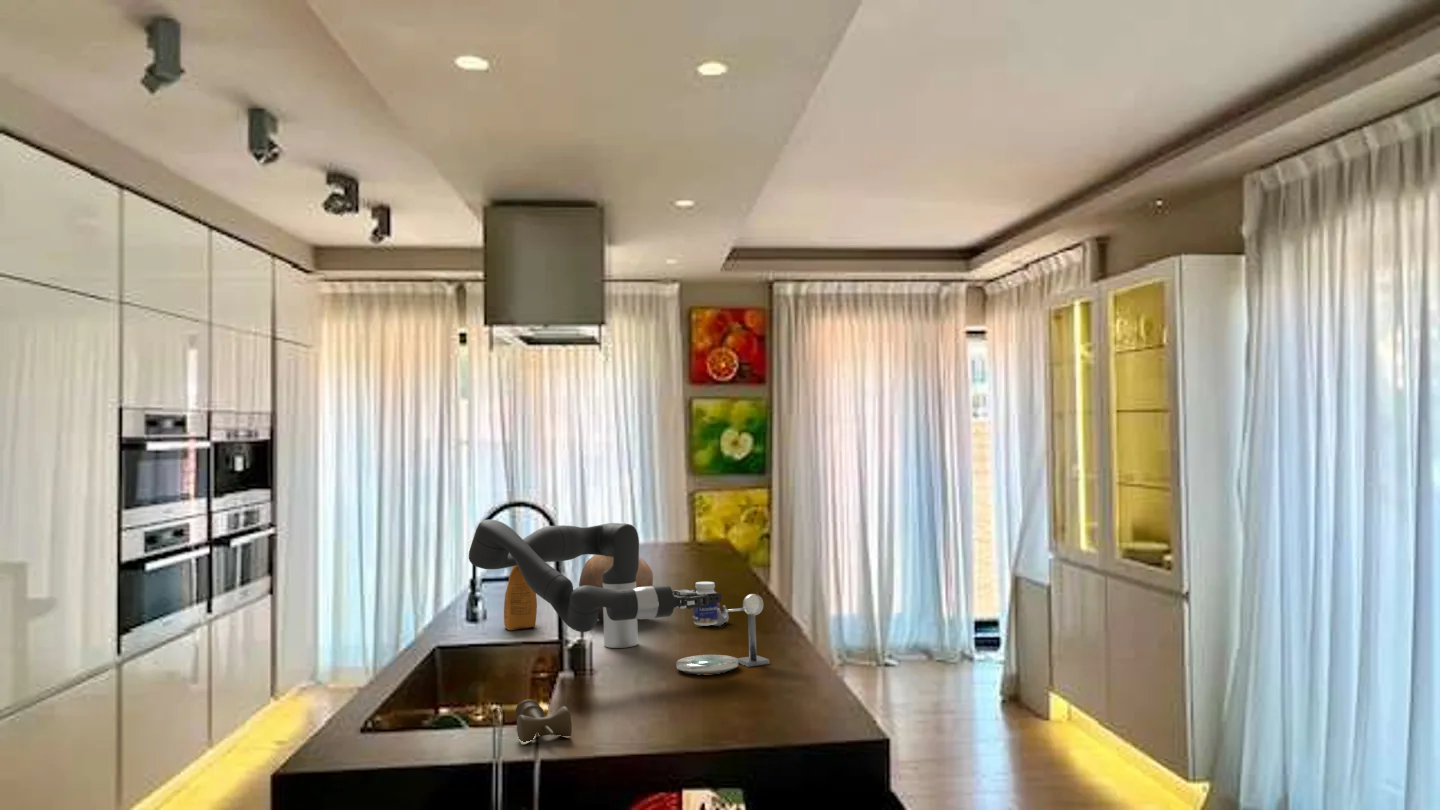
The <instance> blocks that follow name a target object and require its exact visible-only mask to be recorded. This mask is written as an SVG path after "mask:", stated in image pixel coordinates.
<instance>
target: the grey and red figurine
mask: <svg viewBox="0 0 1440 810" xmlns="http://www.w3.org/2000/svg"><path fill="white" fill-rule="evenodd" d="M720 608H721V609H720ZM725 610H728V609H727V607H726V605H725V604H724V605H722V606H721V602H718V603H717V624H715V625H721V624H724V623H725V622H727V623H728V621H729V620H730V617H729V612H725ZM692 619H694V615H692Z"/></svg>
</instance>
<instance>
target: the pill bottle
mask: <svg viewBox="0 0 1440 810" xmlns="http://www.w3.org/2000/svg"><path fill="white" fill-rule="evenodd" d="M694 587H695V589H696V590H695V591H696V592H697V594H704V593H706V594H711V593H717V591H715V588H716V584H715V582H714V581H697V582H695V586H694ZM701 602H702V598H701ZM693 616H694V618H693V623H694V625H696V626H700V627H702V626H709V625H715V624H717V603H709V604H708V606H703V607H696V608H693Z"/></svg>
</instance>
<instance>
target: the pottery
mask: <svg viewBox="0 0 1440 810" xmlns="http://www.w3.org/2000/svg"><path fill="white" fill-rule="evenodd" d="M613 559H614V557H611V556H604V555H592V557H590V558H588V559H587V561H586V562H585V563H584V565H583V568H582V569H581V573H580V576H579V581H578V587H580V586H584V585H590V586H595V587H600V588H603V581H602V575H603V572H605V571H607V570H609V569H610V568H611V567H612V566H613ZM644 586H654V574H653V570H652V569H651V567H650V566H649V564H648V563H647V562H646V561H645V559H644V558H642V557H640V556H639V567H638V572H637V575H636V588H637V587H644ZM597 621H601V622H604V615H603V607H600V608H599V613H598V619H597Z"/></svg>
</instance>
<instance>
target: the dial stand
mask: <svg viewBox="0 0 1440 810" xmlns="http://www.w3.org/2000/svg"><path fill="white" fill-rule="evenodd" d="M764 605H765V604H764V600H763V598H762V597H761V596H760V595H759V594H756V593H750V594H747V595H746V596H745V597H744V599H743V601H742V607H740V608H739V607H738V608H730V609H727V610H725V612H728V613H731V612H741V611H743V612H745V613H746V614H747V625H748V626H747V627H748V628H747V629H748V630H747V631H748V656H743V657H738V658H737V657H736V658H737V659H738V664H739V663H740V665H742V666H744V665H745V666H744V667H747V668H750V667H756V666H757V667H758V666H764V665H770V664H771V663H770V659H769V658H766V657H763V656H760V655H757V634H756V633H757V631H756V630H757V628H756V626H757V625H756V616H757V615H760V613H762V611H763V609H764Z"/></svg>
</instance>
